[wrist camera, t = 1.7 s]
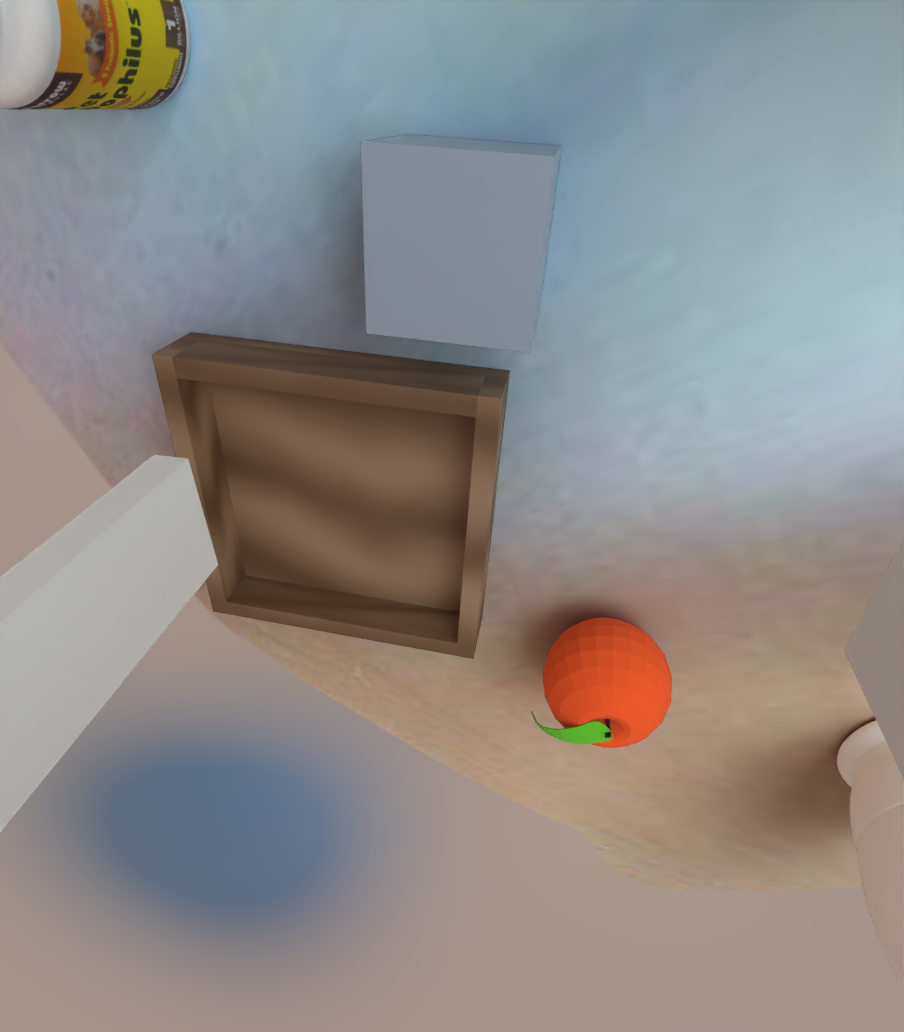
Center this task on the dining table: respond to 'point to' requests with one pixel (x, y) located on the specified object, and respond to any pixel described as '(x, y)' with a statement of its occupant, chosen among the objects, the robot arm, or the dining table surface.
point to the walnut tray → (341, 484)
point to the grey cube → (456, 238)
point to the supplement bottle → (91, 53)
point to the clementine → (606, 684)
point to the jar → (878, 833)
